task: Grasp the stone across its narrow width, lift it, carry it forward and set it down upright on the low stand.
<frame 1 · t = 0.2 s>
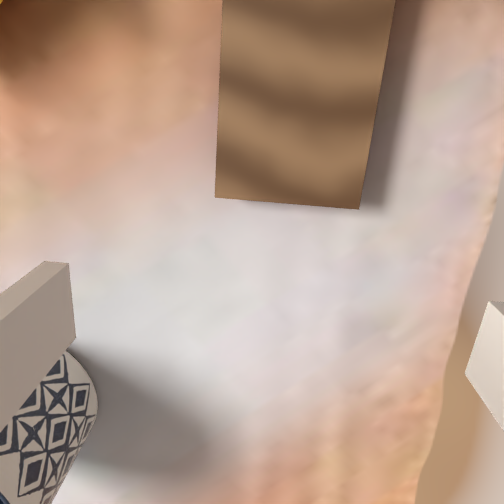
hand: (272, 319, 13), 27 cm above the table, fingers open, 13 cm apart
stand: (296, 96, 36), on the table
planter: (28, 389, 50), on the table
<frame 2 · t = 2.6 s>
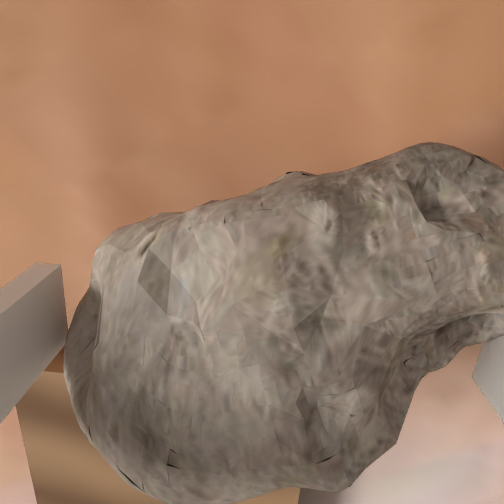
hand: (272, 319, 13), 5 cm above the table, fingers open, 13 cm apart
stand: (177, 469, 23), on the table
stone: (300, 242, 17), point 1 cm above the table
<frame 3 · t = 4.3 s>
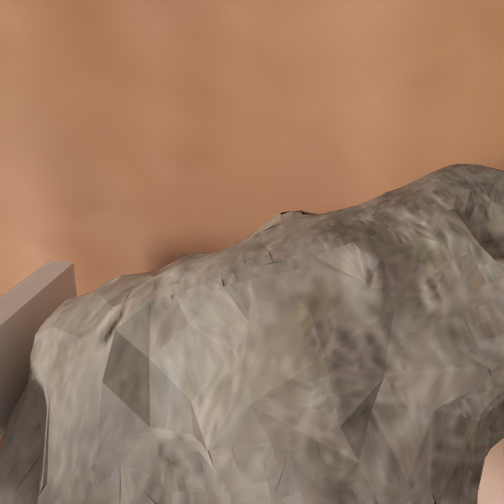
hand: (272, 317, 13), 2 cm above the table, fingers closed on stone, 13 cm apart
stone: (284, 293, 14), point 1 cm above the table, touching gripper
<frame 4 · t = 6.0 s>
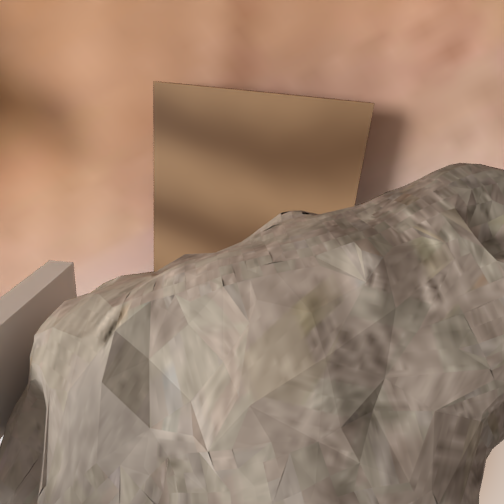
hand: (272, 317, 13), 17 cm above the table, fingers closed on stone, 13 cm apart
stand: (252, 221, 30), on the table
stone: (284, 293, 14), point 16 cm above the table, touching gripper
when the fingers open (6 cm above the table, at t = 8.9 s): stone drops 2 cm, resting on stand.
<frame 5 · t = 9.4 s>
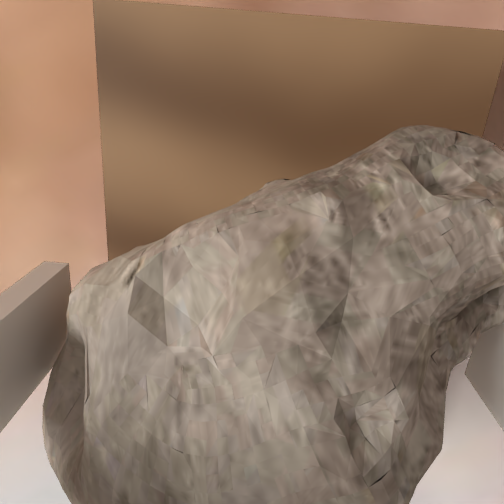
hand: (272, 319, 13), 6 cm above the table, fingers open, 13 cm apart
stand: (272, 249, 19), on the table
stone: (283, 264, 16), point 3 cm above the table, touching stand
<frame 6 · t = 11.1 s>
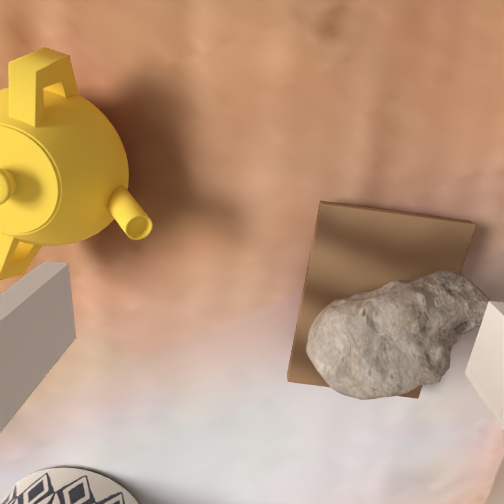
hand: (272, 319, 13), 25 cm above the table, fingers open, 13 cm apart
stand: (366, 294, 40), on the table
stone: (378, 304, 37), point 3 cm above the table, touching stand
teapot: (69, 162, 37), on the table
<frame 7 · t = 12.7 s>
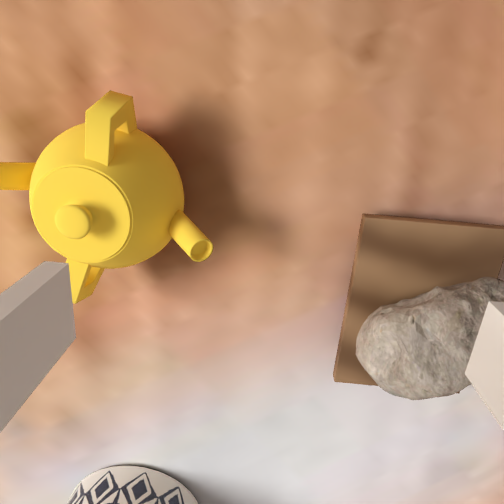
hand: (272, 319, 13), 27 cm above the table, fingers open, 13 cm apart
stand: (406, 297, 42), on the table
stone: (420, 307, 39), point 3 cm above the table, touching stand
teapot: (125, 187, 39), on the table
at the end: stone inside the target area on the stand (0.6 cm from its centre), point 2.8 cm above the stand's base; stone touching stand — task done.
